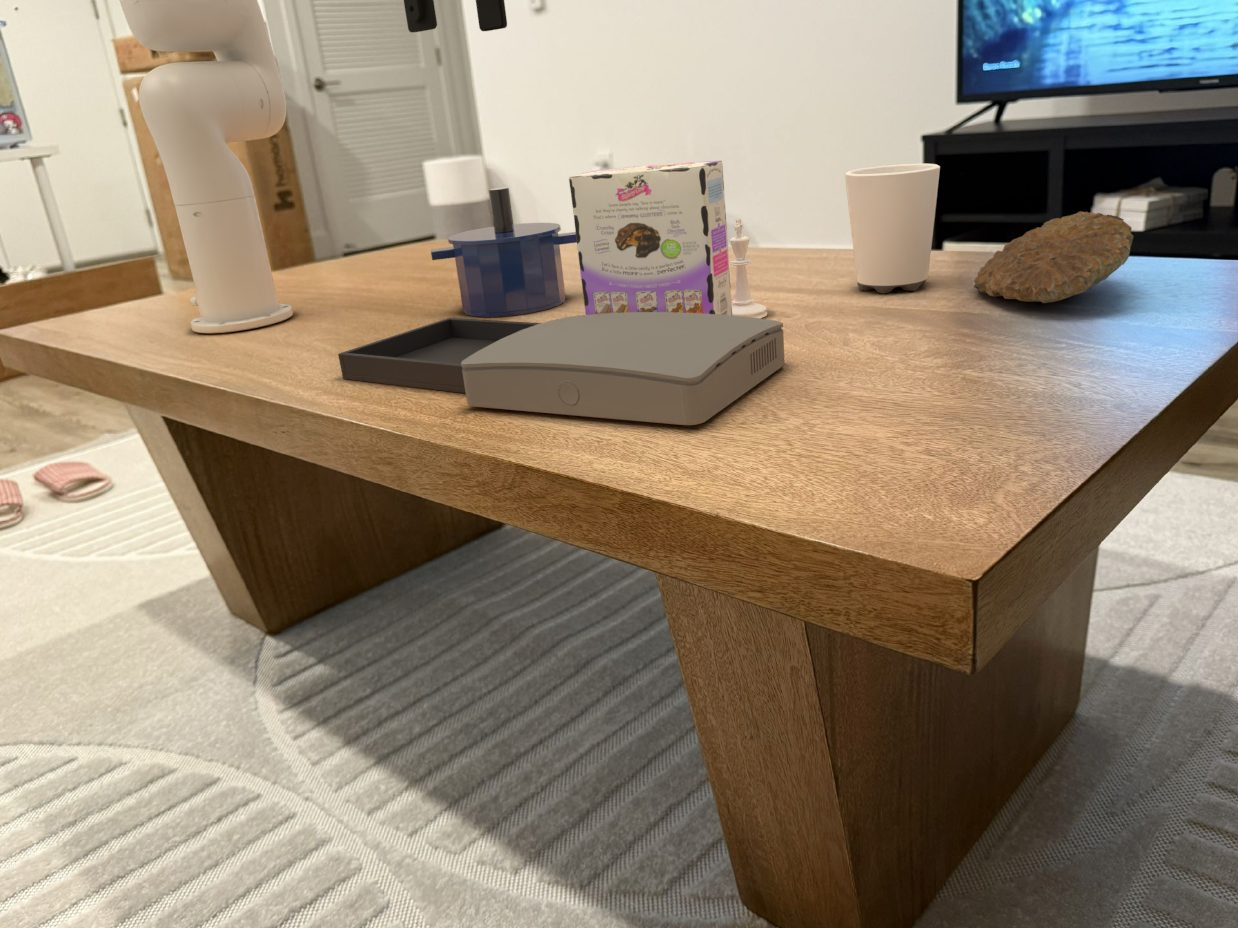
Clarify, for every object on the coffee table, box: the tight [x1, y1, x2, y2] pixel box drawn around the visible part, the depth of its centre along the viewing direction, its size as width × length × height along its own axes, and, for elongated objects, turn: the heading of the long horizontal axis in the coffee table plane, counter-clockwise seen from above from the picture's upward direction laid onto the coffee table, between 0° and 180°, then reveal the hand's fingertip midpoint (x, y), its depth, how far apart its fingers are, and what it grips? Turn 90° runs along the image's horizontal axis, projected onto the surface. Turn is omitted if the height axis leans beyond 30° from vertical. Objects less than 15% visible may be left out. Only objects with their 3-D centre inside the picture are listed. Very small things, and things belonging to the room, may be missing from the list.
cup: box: [844, 163, 941, 294], centre depth 108 cm, size 10×10×13 cm
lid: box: [447, 186, 562, 245], centre depth 118 cm, size 14×14×6 cm
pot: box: [430, 231, 577, 318], centre depth 120 cm, size 13×18×8 cm
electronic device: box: [461, 312, 786, 426], centre depth 82 cm, size 19×22×5 cm
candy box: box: [568, 160, 732, 316], centre depth 95 cm, size 14×6×16 cm, turn 65°
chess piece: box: [729, 218, 768, 319], centre depth 102 cm, size 5×5×10 cm
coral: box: [973, 211, 1134, 304], centre depth 97 cm, size 19×9×15 cm
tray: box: [337, 317, 542, 394], centre depth 95 cm, size 17×15×2 cm
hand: (459, 30), depth 94 cm, fingers open, 9 cm apart
